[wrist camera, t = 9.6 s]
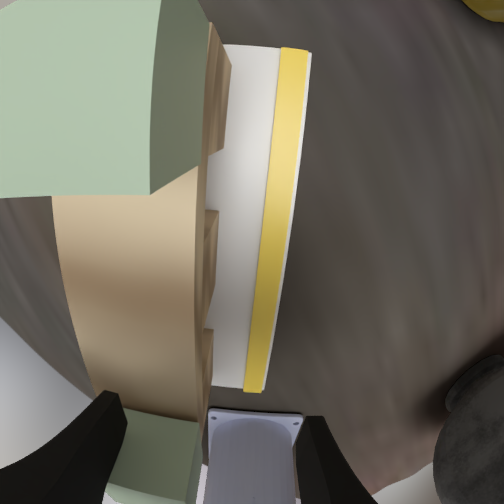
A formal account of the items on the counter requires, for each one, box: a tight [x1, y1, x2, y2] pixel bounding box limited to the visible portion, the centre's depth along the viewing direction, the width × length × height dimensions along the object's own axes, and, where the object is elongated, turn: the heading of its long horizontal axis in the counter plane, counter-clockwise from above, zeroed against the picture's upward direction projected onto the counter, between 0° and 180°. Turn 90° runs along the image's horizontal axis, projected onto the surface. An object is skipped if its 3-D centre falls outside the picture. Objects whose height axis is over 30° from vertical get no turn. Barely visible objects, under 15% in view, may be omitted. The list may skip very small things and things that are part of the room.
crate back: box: [105, 408, 203, 504], centre depth 11 cm, size 4×4×4 cm
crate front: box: [0, 0, 210, 198], centre depth 5 cm, size 4×4×4 cm
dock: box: [204, 44, 312, 393], centre depth 16 cm, size 20×12×2 cm, turn 175°
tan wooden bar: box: [52, 22, 232, 442], centre depth 12 cm, size 18×5×6 cm, turn 175°
